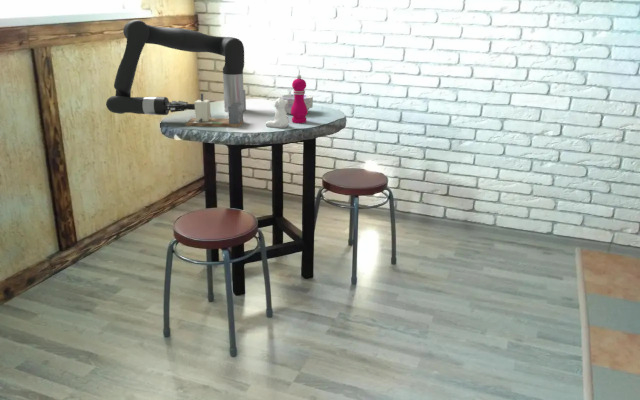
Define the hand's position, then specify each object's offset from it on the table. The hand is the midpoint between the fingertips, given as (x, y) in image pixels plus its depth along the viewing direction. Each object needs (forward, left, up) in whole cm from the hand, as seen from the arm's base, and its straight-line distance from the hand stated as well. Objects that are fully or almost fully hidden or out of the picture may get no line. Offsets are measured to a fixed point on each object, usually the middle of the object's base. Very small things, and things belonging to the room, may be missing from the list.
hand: (196, 106), depth 227 cm
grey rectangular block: (-12, +11, -6) cm, 18 cm away
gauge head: (-1, +3, -6) cm, 6 cm away
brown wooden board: (-6, +5, -7) cm, 10 cm away
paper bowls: (-48, +5, -7) cm, 49 cm away
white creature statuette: (-25, +25, -7) cm, 36 cm away
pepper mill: (-37, +22, -7) cm, 44 cm away
